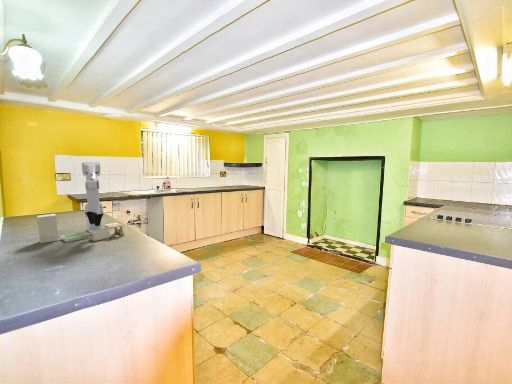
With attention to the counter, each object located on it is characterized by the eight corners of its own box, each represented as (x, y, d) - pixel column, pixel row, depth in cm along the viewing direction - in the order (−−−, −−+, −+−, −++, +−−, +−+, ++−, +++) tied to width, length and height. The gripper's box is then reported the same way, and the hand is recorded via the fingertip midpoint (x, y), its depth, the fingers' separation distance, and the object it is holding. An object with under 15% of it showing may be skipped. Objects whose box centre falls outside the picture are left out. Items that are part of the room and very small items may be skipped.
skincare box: (58, 238, 149) (56, 213, 148) (58, 241, 145) (56, 215, 143) (39, 241, 144) (37, 215, 142) (39, 243, 140) (36, 216, 138)
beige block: (104, 235, 156) (103, 224, 155) (117, 232, 162) (117, 222, 162) (110, 238, 151) (109, 227, 150) (124, 235, 157) (123, 224, 156)
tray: (61, 239, 148) (60, 235, 148) (85, 234, 158) (85, 231, 158) (67, 242, 142) (66, 238, 142) (91, 237, 152) (91, 234, 152)
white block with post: (79, 241, 145) (78, 232, 144) (105, 236, 155) (104, 227, 155) (83, 243, 141) (82, 234, 141) (109, 237, 152) (108, 229, 151)
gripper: (80, 200, 148) (82, 224, 149) (90, 203, 139) (92, 228, 140) (94, 199, 153) (95, 222, 155) (104, 202, 144) (106, 225, 146)
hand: (94, 224), depth 148 cm, fingers open, 7 cm apart
